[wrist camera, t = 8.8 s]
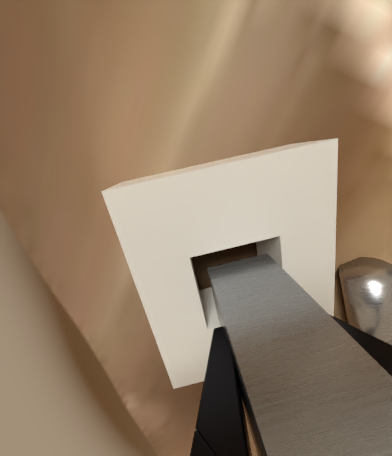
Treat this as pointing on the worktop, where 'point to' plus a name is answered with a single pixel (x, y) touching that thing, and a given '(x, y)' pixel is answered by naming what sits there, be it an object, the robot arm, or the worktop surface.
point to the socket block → (225, 236)
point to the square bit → (299, 367)
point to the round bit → (368, 296)
